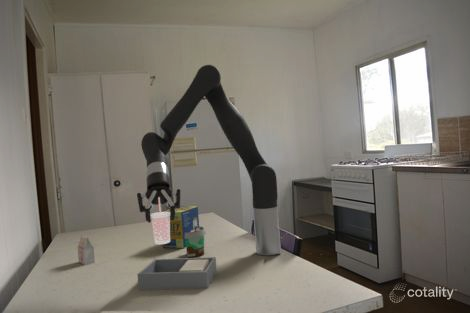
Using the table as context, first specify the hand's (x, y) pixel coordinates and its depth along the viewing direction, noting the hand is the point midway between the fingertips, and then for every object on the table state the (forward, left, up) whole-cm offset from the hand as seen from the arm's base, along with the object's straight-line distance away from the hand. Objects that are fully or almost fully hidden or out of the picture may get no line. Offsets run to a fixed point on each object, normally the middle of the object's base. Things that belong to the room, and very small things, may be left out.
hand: (160, 219), depth 105 cm
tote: (-4, -1, -20) cm, 20 cm away
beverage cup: (+1, -2, -8) cm, 8 cm away
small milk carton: (+41, -25, -20) cm, 52 cm away
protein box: (+9, -48, -20) cm, 53 cm away
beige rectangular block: (-9, -1, -19) cm, 21 cm away
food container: (-3, -30, -20) cm, 37 cm away
